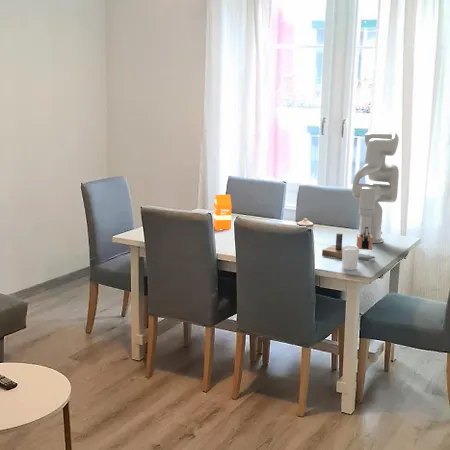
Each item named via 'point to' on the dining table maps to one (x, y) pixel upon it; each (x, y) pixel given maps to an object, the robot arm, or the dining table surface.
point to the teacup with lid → (305, 223)
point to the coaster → (365, 257)
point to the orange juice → (222, 212)
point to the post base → (334, 248)
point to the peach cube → (360, 239)
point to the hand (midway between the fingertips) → (364, 246)
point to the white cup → (350, 257)
